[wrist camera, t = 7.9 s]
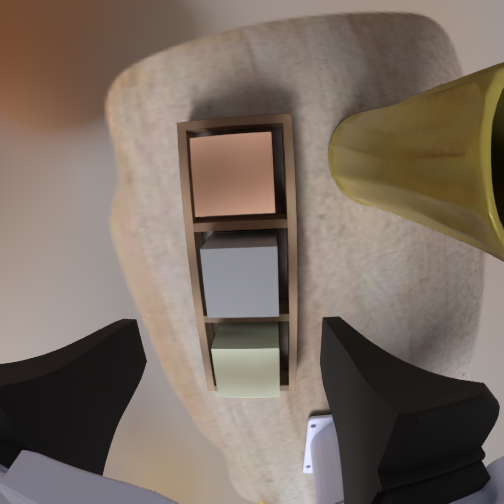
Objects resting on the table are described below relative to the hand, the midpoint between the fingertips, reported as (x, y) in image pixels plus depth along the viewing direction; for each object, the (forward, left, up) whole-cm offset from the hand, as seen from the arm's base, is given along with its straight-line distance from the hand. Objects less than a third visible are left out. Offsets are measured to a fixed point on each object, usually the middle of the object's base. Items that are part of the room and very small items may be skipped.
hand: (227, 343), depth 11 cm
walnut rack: (0, 0, -9) cm, 9 cm away
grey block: (0, 0, -10) cm, 10 cm away
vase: (+7, -8, -10) cm, 14 cm away
